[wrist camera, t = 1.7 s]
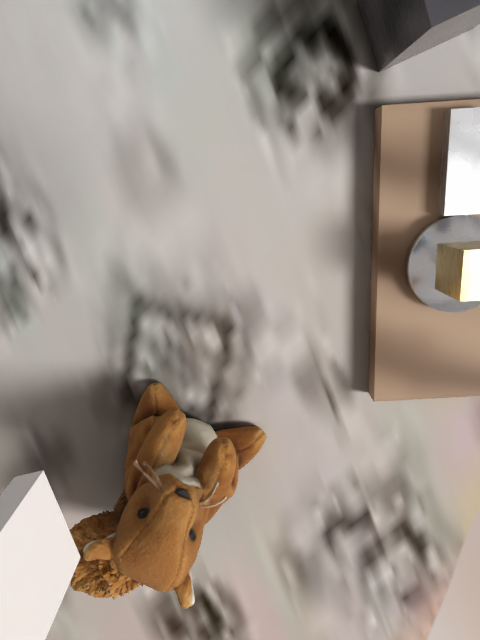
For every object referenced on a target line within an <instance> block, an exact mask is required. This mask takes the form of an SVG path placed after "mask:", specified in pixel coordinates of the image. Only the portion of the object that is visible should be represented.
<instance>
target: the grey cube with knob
mask: <svg viewBox="0 0 480 640" xmlns="http://www.w3.org/2000/svg"><path fill="white" fill-rule="evenodd" d="M357 3H358V6H359V9H360V12H361V15H362V19H363V22H364V25H365V28H366V32H367V35H368V38H369V41H370V45H371V48H372V51H373V54H374V58H375V61H376V64H377V67H378V70H379V72H380V71H382V70H385V69H387V68H389V67H391V66H393V65H395V64H398V63H400V62H402V61H404V60H406V59H408V58H410V57H413V56H415V55H417V54H419V53H421V52H423V51H425V50H428V49H430V48H432V47H434V46H436V45H438V44H441V43H443V42H445V41H447V40H449V39H451V38H453V37H456V36H458V35H460V34H462V33H464V32H466V31H468V30H471V29H472V28H474V27H475V26H477V25H478V24H480V0H357Z"/></svg>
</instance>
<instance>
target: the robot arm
mask: <svg viewBox="0 0 480 640" xmlns="http://www.w3.org/2000/svg"><path fill="white" fill-rule="evenodd" d="M80 558H81V557H80V554H79V552H78V550H77V547H76V545H75V543H74V540H73V538H72V536H71V533H70V531H69V529H68V526H67V524H66V522H65V519H64V517H63V515H62V512H61V510H60V508H59V505H58V503H57V501H56V498H55V496H54V494H53V491H52V489H51V487H50V484H49V482H48V480H47V477H46V475H45V473H44V470H42V471H38V472H33V473H29V474H24V475H20V476H15V477H14V478H13V479H12V481H11V482H10V483H9V485H8V486H7V487H6V488H5V490H4V491H3V492H2V494H1V495H0V640H45V639H46V637H47V634H48V632H49V630H50V627H51V625H52V623H53V620H54V618H55V616H56V613H57V611H58V609H59V606H60V604H61V602H62V599H63V597H64V595H65V592H66V590H67V588H68V586H69V583H70V581H71V579H72V576H73V574H74V572H75V569H76V567H77V565H78V562H79V560H80Z"/></svg>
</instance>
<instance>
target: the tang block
mask: <svg viewBox="0 0 480 640" xmlns="http://www.w3.org/2000/svg"><path fill="white" fill-rule="evenodd" d="M368 393H369V394H370V396H371V398H372V399H373V401H374V402H375V401H393V400H411V399H429V398H448V397H466V396H480V99H471V100H456V101H440V102H425V103H409V104H393V105H382V106H380V107H378V108H377V109H375V127H374V170H373V214H372V257H371V300H370V344H369V387H368Z"/></svg>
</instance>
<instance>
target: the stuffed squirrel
mask: <svg viewBox="0 0 480 640" xmlns="http://www.w3.org/2000/svg"><path fill="white" fill-rule="evenodd" d="M265 440H266V434H265V433H264V432H263V431H262V430H261V429H260V428H259V427H258V426H247V427H239V428H229V429H224V430H219V431H216V432H215V431H214V430H213V428H212V427H211V426H210V425H209V424H207V423H205V422H203V421H201V420H197V419H192V418H186V415H185V414H184V413H183V412H182V411H181V410H180V408H179V406H178V404H177V403H176V402H175V400H174V399H173V397H172V396H171V394H170V393H169V392H168V390H167V389H166V388H165V387H164V386H163V384H162V383H159V382H156V383H151V384H150V385H149V386H148V387H147V388H146V390H145V391H144V393H143V395H142V397H141V399H140V402H139V404H138V407H137V409H136V412H135V415H134V418H133V422H132V425H131V427H130V430H129V437H128V452H127V458H126V463H125V469H124V489H123V492H122V494H121V497H120V498H119V501H118V502H117V503H116V505H115V507H114V511H113V512H109V511H107V510H106V512H104V511H103V513H102V514H101V513H99V514H98V515H92V516H91V517H88V518H85V519H82V520H81V521H80V523H78V524H75V525H74V527H73V528H72V529H70V530H69V531H70V533H71V536H72V538H73V540H74V543H75V545H76V547H77V550H78V552H79V554H80V557H81V558H80V560H79V562H78V565H77V567H76V569H75V572H74V574H73V576H72V579H71V581H70V582H71V587H73V590H75V591H81V592H84V593H88V594H89V595H91V596H94V597H95V598H96V597H99V598H100V597H101V598H102V597H103V598H105V597H106V598H108V597H110V596H111V597H113V599H115V598H116V597H117V595H118V594H119V595H120V596H124V594H125V593H129V591H130V590H134V589H135V588H136V587H138V586H139V585H142V586H143V585H146V586H148V587H151V588H153V589H155V590H157V591H161V592H165V591H171V590H175V592H176V594H177V596H178V600H179V603H180V605H181V607H182V608H188V607H190V606H192V605H193V604H194V601H195V597H194V590H193V586H192V573H191V567H192V565H193V564H194V562H195V559H196V557H197V553H198V550H199V547H200V544H201V539H202V534H203V527H204V525H205V524H206V523H207V522H208V521H209V520H210V519H211V518H212V517H213V516H214V515H215V513H216V512H217V510H218V509H219V508H220V506H221V505H222V504H223V503H224V502H226V501H227V500H228V499H229V498H230V497H231V496H232V495H233V494H234V492H235V490H236V487H237V481H238V470H239V469H241V468H242V467H244V466H245V465H246V464H247V463H248V462H249V461H250V460H251V459H252V458H253V457H254V456H255V455H256V454H257V453H258V451H259V450H260V448H261V447H262V445H263V443H264V441H265Z"/></svg>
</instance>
